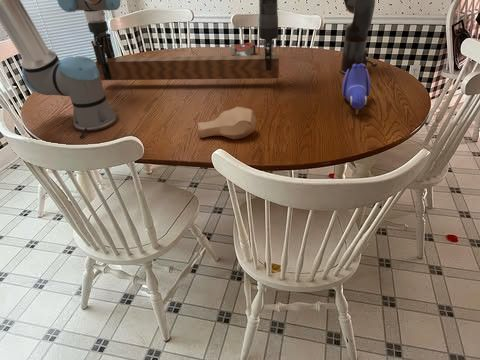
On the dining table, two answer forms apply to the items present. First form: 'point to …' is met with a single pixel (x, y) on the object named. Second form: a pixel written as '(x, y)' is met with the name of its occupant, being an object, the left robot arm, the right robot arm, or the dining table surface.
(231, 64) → the beam
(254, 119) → the squash
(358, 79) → the toy
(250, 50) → the tape dispenser
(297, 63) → the dining table surface
